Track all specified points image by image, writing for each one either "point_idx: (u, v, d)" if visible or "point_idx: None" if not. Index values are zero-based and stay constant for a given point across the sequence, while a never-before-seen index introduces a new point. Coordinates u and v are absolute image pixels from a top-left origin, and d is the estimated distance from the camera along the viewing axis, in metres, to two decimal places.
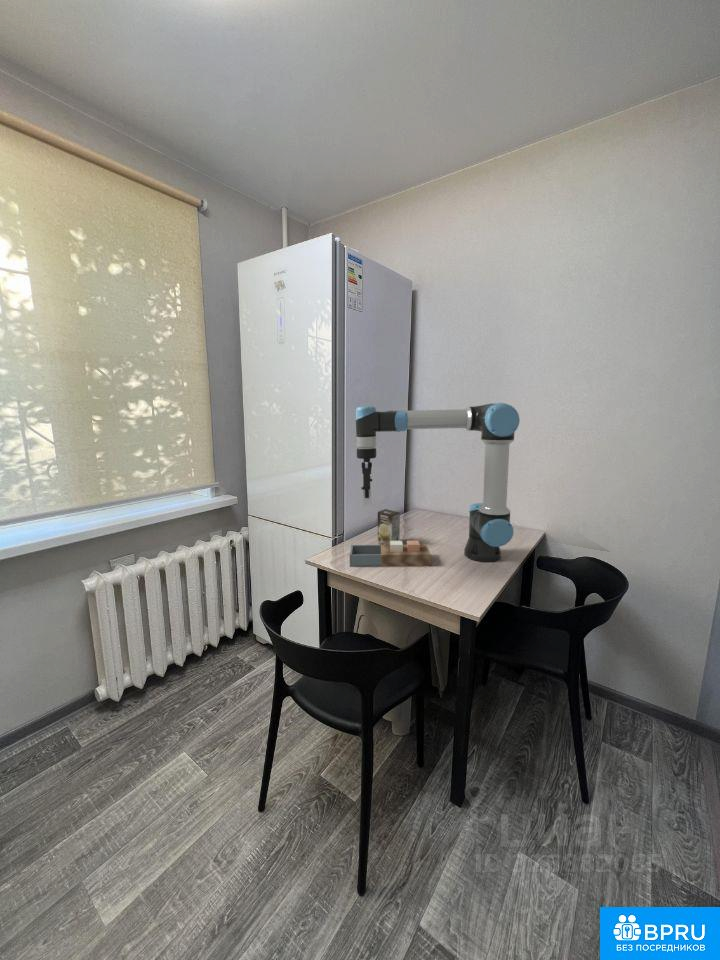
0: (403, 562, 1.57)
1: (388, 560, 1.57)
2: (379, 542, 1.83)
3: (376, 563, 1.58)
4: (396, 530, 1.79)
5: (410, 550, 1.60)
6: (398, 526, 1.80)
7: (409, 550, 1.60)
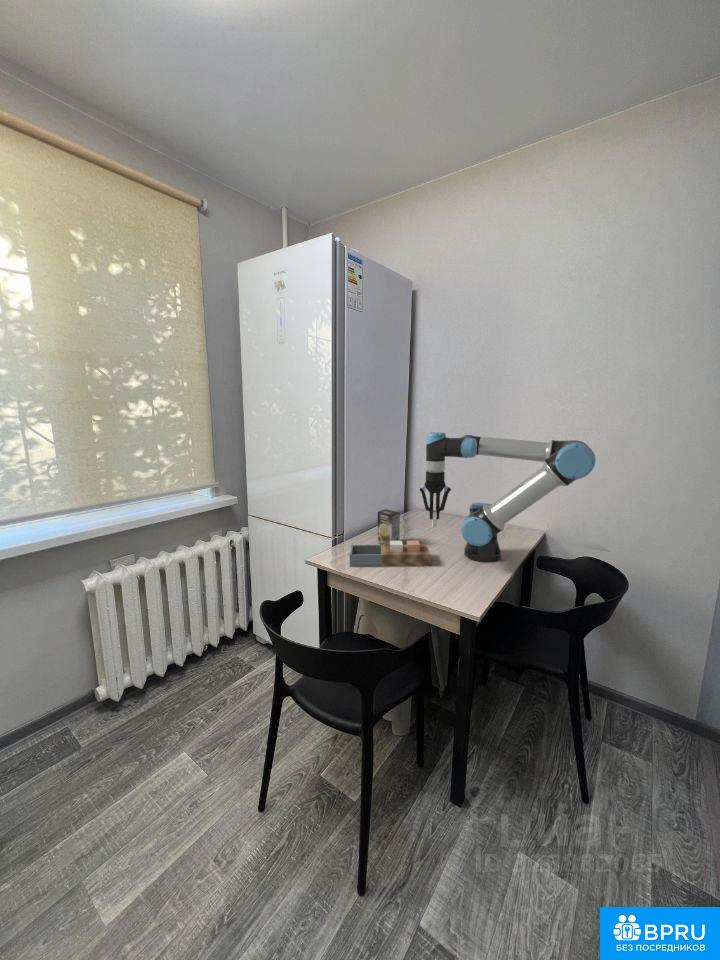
0: (403, 562, 1.57)
1: (388, 560, 1.57)
2: (379, 542, 1.83)
3: (376, 563, 1.58)
4: (396, 530, 1.79)
5: (410, 550, 1.60)
6: (398, 526, 1.80)
7: (409, 550, 1.60)
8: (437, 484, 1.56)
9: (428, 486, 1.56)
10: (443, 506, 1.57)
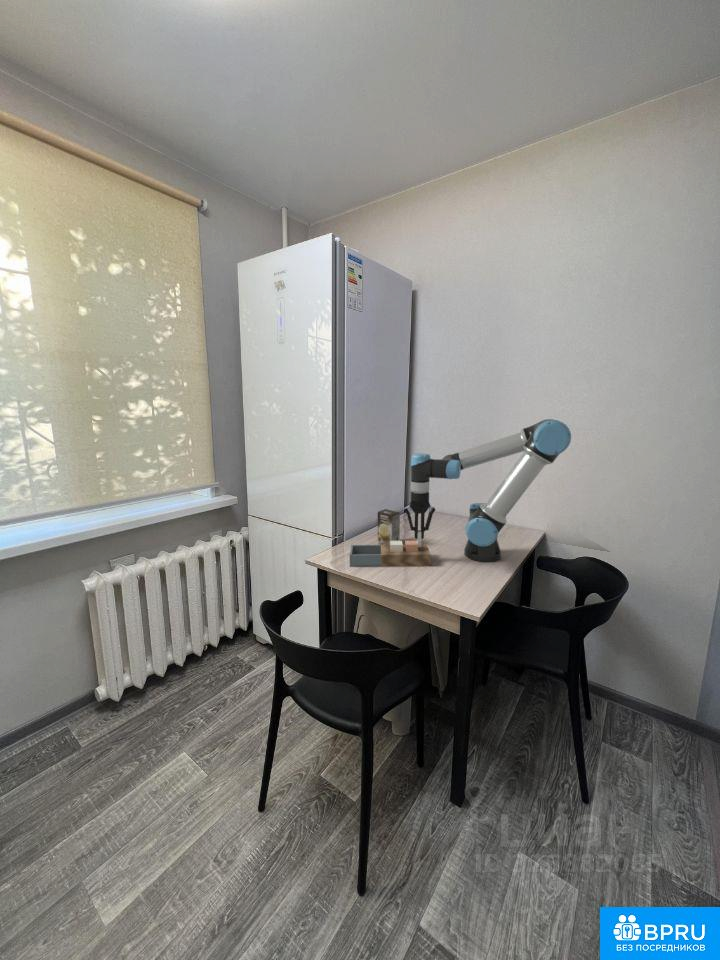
0: (403, 562, 1.57)
1: (388, 560, 1.57)
2: (379, 542, 1.83)
3: (376, 563, 1.58)
4: (396, 530, 1.79)
5: (408, 550, 1.60)
6: (398, 526, 1.80)
7: (407, 550, 1.60)
8: (422, 504, 1.58)
9: (413, 506, 1.58)
10: (428, 526, 1.59)
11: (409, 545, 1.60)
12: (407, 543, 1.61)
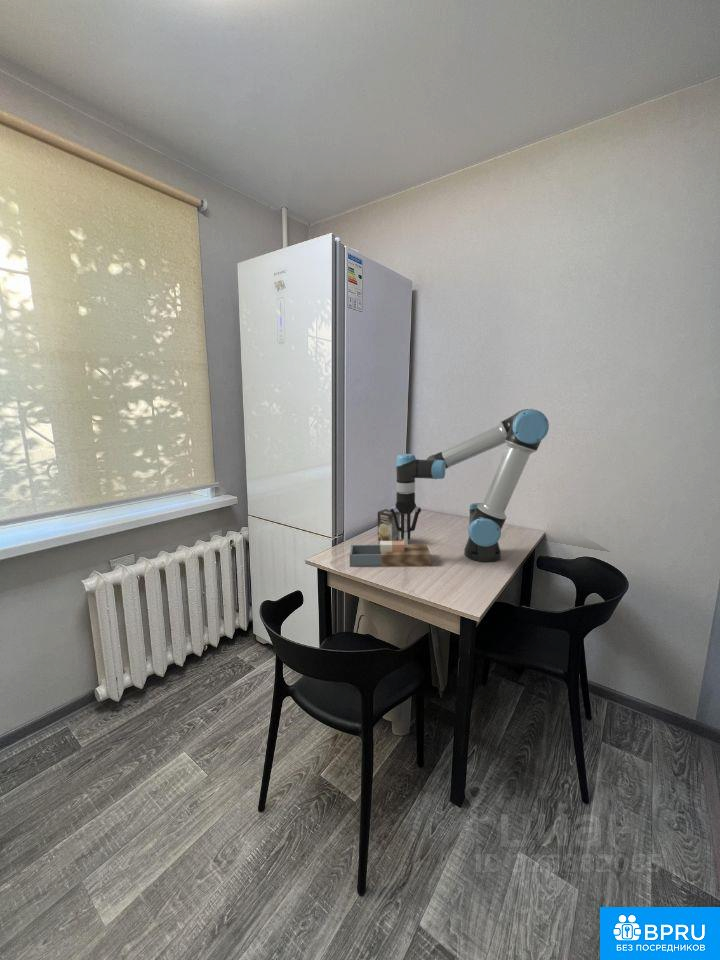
0: (403, 562, 1.57)
1: (388, 560, 1.57)
2: (379, 542, 1.83)
3: (376, 563, 1.58)
4: (396, 530, 1.79)
5: (395, 550, 1.60)
6: None
7: (394, 550, 1.60)
8: (407, 505, 1.58)
9: (399, 507, 1.58)
10: (414, 526, 1.59)
11: (395, 545, 1.60)
12: (393, 543, 1.61)
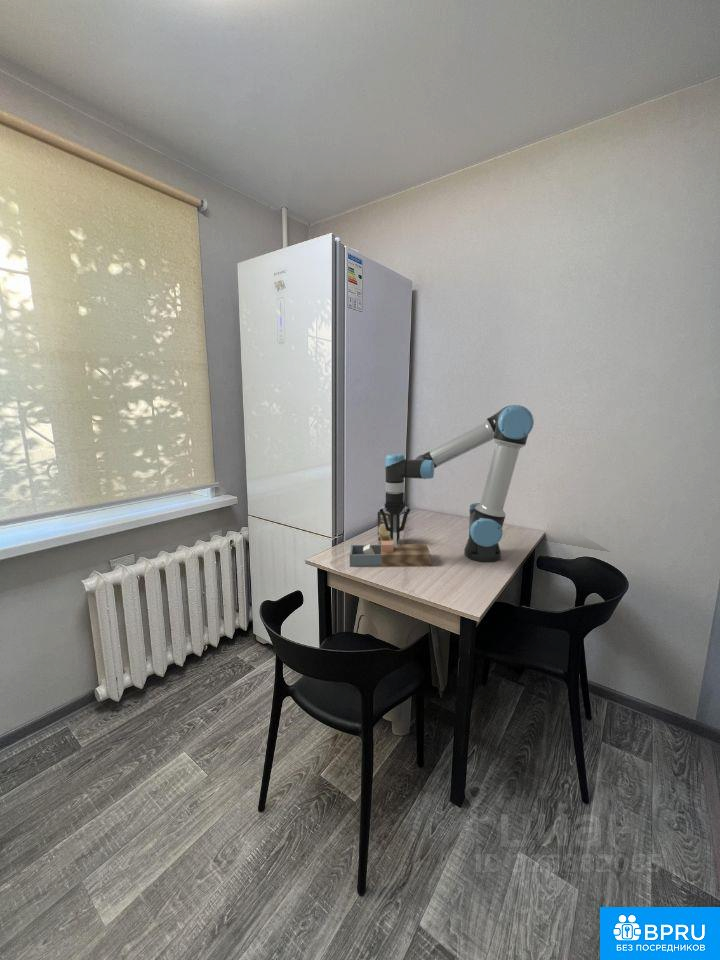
0: (403, 562, 1.57)
1: (388, 560, 1.57)
2: (379, 542, 1.83)
3: (376, 563, 1.58)
4: None
5: (384, 550, 1.60)
6: None
7: (383, 550, 1.60)
8: (396, 505, 1.58)
9: (388, 507, 1.58)
10: (403, 526, 1.59)
11: (384, 545, 1.60)
12: (383, 543, 1.61)
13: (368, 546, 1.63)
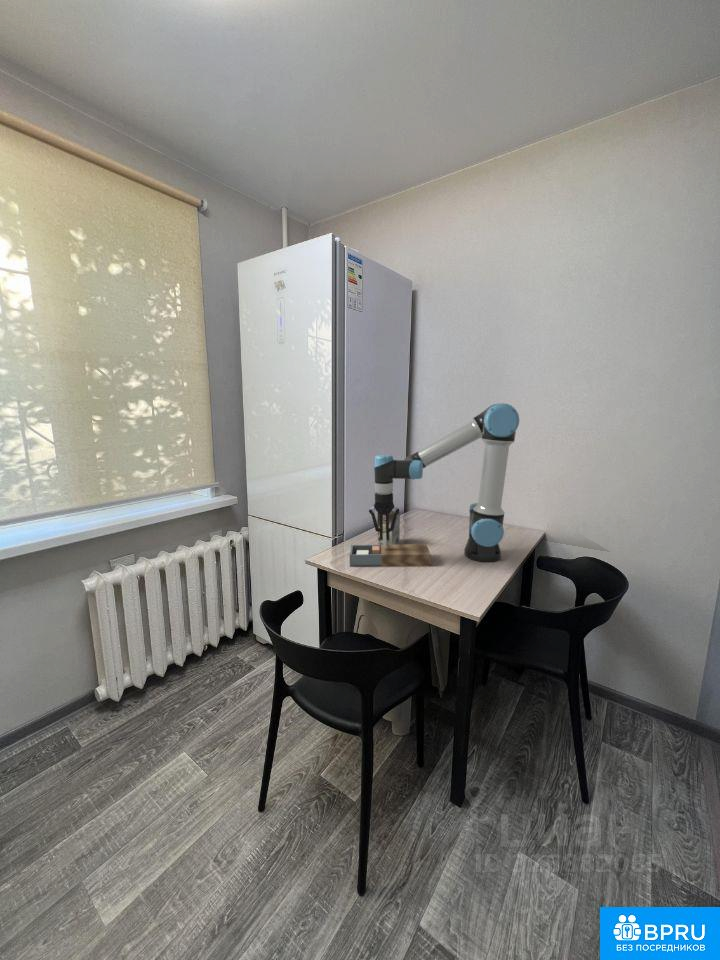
0: (403, 562, 1.57)
1: (388, 560, 1.57)
2: (379, 542, 1.83)
3: (376, 563, 1.58)
4: (396, 530, 1.79)
5: None
6: (398, 526, 1.80)
7: None
8: (386, 505, 1.58)
9: (377, 507, 1.58)
10: (392, 527, 1.60)
11: None
12: None
13: (356, 553, 1.64)
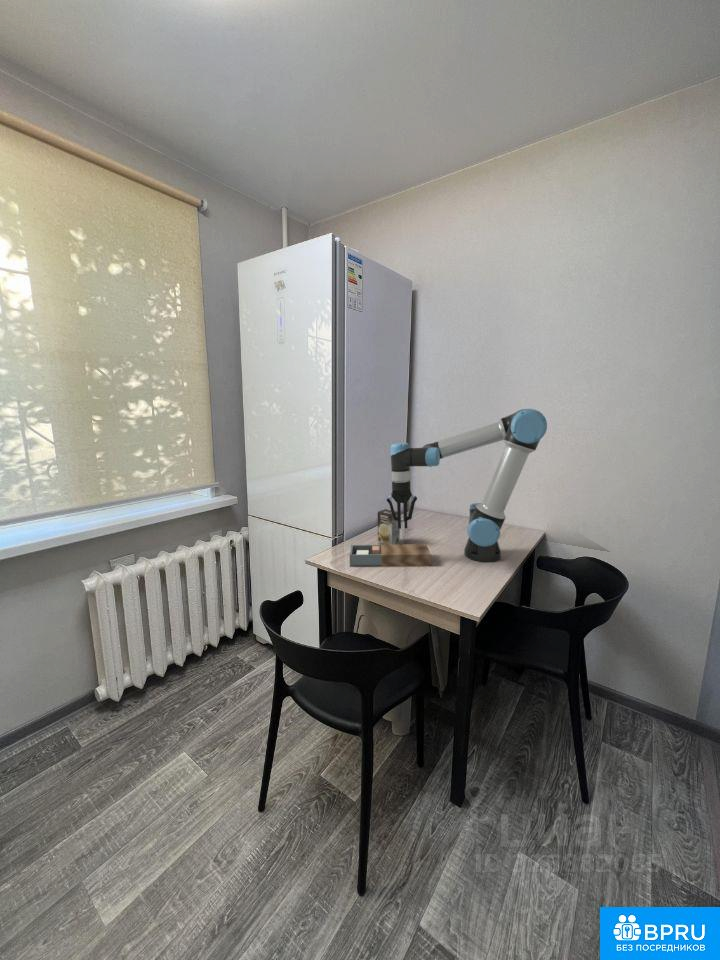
0: (403, 562, 1.57)
1: (388, 560, 1.57)
2: (379, 542, 1.83)
3: (376, 563, 1.58)
4: (396, 530, 1.79)
5: None
6: None
7: None
8: (403, 494, 1.58)
9: (394, 496, 1.58)
10: (410, 515, 1.59)
11: None
12: None
13: (356, 553, 1.64)
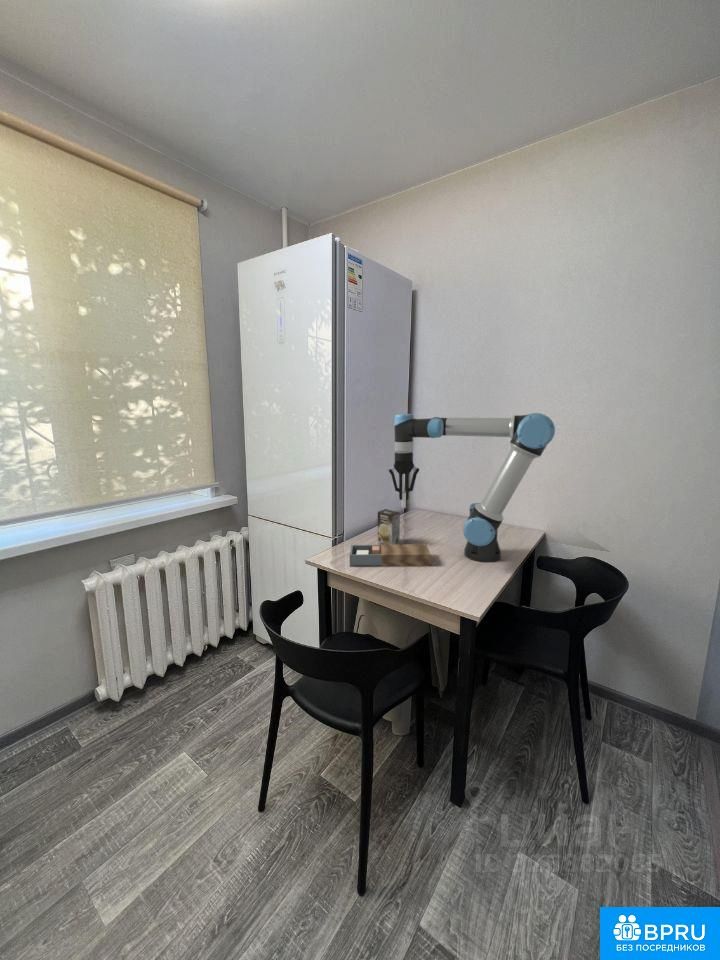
0: (403, 562, 1.57)
1: (388, 560, 1.57)
2: (379, 542, 1.83)
3: (376, 563, 1.58)
4: (396, 530, 1.79)
5: None
6: (398, 526, 1.80)
7: None
8: (406, 465, 1.59)
9: (397, 467, 1.59)
10: (412, 487, 1.60)
11: None
12: None
13: (356, 553, 1.64)
